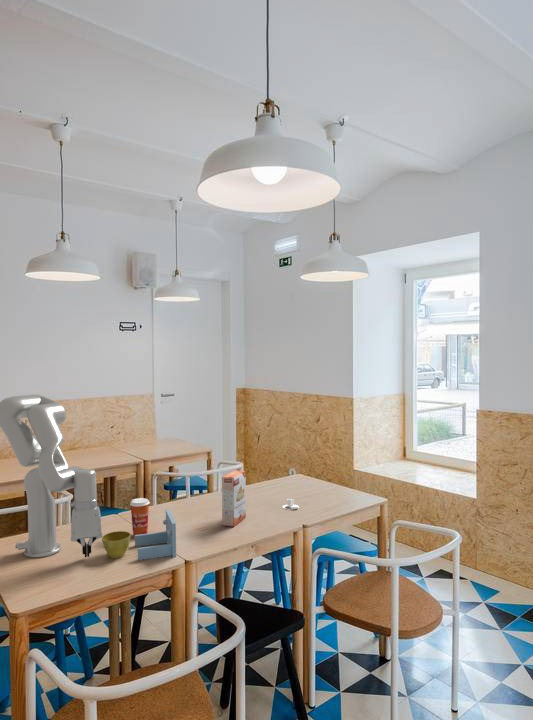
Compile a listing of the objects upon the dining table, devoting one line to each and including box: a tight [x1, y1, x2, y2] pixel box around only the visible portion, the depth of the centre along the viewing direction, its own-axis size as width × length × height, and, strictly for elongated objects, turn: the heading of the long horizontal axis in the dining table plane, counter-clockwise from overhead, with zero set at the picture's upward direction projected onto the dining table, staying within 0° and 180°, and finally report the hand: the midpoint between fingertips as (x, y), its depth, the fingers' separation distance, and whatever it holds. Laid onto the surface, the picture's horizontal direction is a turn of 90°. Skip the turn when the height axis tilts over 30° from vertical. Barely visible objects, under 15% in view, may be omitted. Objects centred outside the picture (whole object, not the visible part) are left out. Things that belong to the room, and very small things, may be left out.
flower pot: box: [101, 530, 131, 559], centre depth 186 cm, size 10×10×7 cm
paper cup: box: [129, 497, 151, 538], centre depth 207 cm, size 8×8×14 cm
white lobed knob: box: [282, 498, 300, 510], centre depth 241 cm, size 9×8×4 cm
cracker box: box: [221, 469, 247, 527], centre depth 222 cm, size 14×6×21 cm, turn 161°
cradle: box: [134, 508, 177, 561], centre depth 190 cm, size 13×18×12 cm
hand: (87, 555), depth 183 cm, fingers closed
